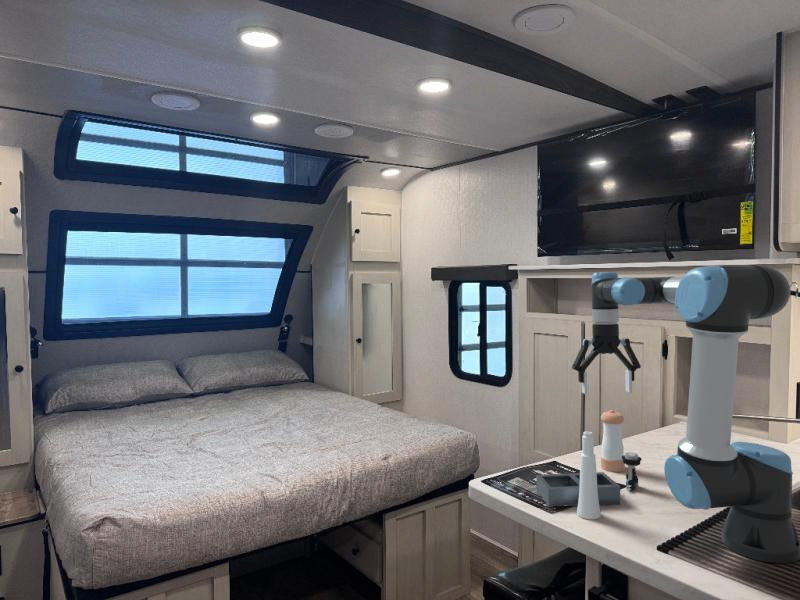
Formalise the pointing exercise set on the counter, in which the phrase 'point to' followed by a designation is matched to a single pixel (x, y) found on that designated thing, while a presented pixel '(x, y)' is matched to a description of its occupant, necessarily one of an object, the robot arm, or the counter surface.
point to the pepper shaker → (612, 442)
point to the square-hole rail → (575, 489)
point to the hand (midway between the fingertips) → (606, 392)
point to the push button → (631, 470)
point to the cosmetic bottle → (588, 481)
